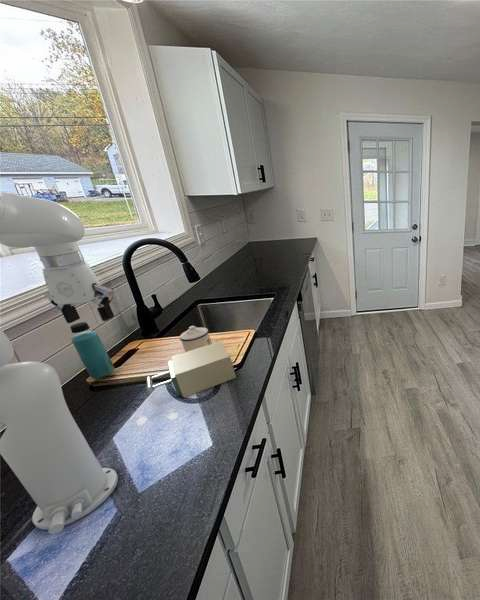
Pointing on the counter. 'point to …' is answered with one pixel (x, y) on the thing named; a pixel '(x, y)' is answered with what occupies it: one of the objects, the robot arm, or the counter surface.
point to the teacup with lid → (195, 338)
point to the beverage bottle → (91, 351)
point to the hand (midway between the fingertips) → (91, 320)
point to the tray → (173, 380)
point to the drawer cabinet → (202, 368)
